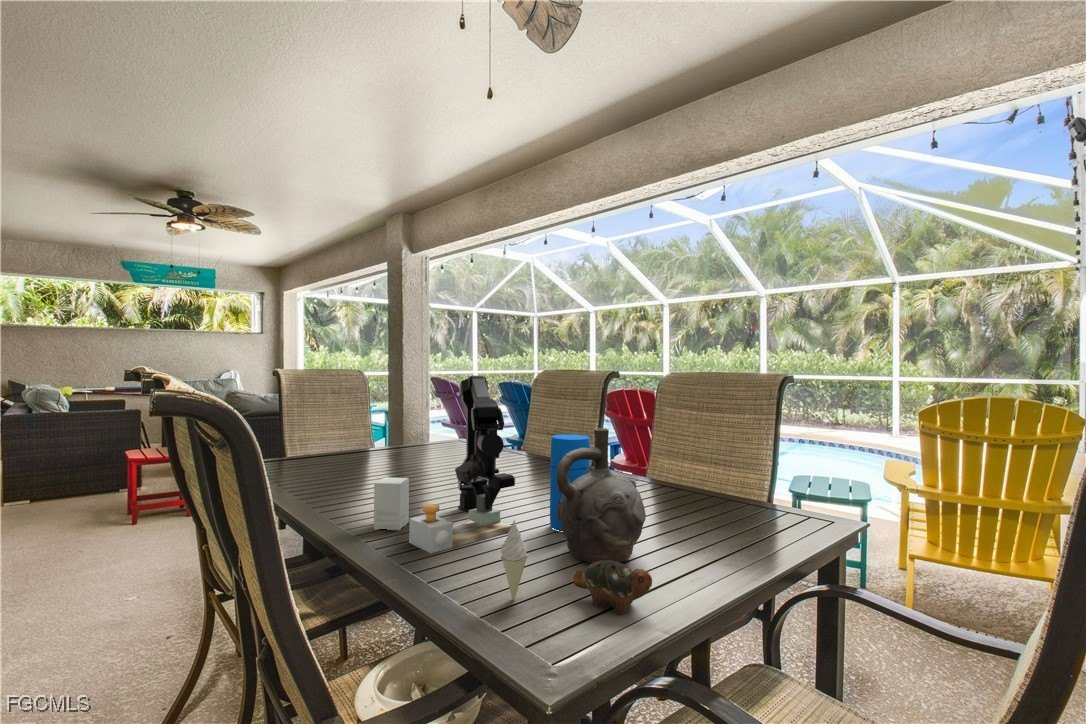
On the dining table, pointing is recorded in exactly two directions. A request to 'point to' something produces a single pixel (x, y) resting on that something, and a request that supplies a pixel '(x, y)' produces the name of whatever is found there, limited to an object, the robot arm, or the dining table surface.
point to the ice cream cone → (513, 558)
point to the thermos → (576, 470)
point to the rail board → (477, 531)
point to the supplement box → (391, 503)
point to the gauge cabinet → (430, 534)
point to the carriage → (483, 512)
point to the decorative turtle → (613, 583)
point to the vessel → (599, 507)
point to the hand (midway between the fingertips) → (484, 508)
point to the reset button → (431, 512)
